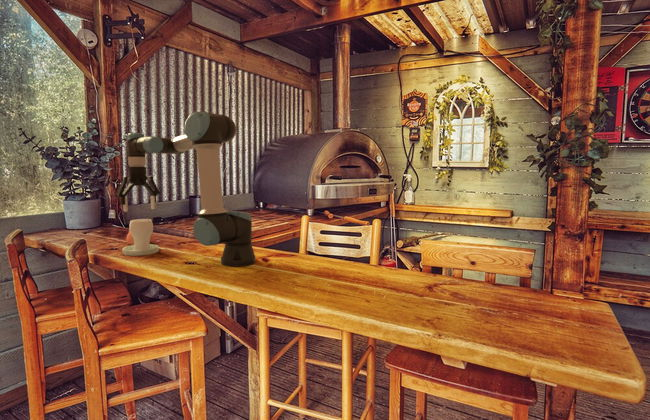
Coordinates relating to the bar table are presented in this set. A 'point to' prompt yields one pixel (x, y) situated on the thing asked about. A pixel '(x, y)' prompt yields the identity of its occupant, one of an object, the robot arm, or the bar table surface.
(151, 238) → the sugar bowl
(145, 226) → the cup
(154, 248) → the dish
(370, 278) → the bar table surface
